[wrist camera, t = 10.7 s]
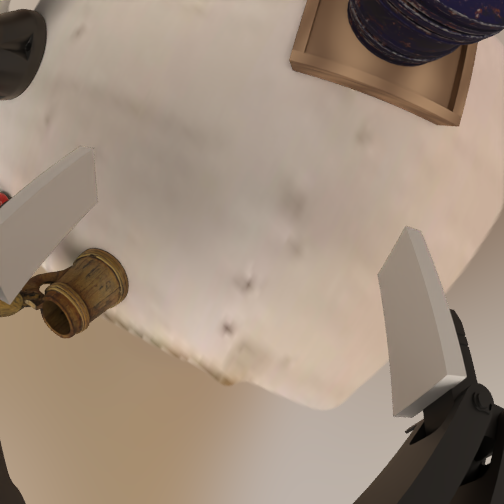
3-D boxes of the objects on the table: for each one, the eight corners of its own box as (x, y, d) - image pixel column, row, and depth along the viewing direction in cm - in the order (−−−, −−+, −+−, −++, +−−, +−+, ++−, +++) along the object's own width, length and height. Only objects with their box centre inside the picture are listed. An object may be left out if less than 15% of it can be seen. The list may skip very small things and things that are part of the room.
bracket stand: (292, 70, 28) (284, 44, 18) (328, -47, 21) (331, -101, 11) (437, 124, 27) (488, 129, 17) (462, 7, 20) (509, -24, 10)
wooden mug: (66, 218, 39) (-29, 272, 23) (137, 273, 40) (54, 356, 24) (54, 262, 43) (-25, 321, 27) (117, 314, 44) (48, 394, 28)
